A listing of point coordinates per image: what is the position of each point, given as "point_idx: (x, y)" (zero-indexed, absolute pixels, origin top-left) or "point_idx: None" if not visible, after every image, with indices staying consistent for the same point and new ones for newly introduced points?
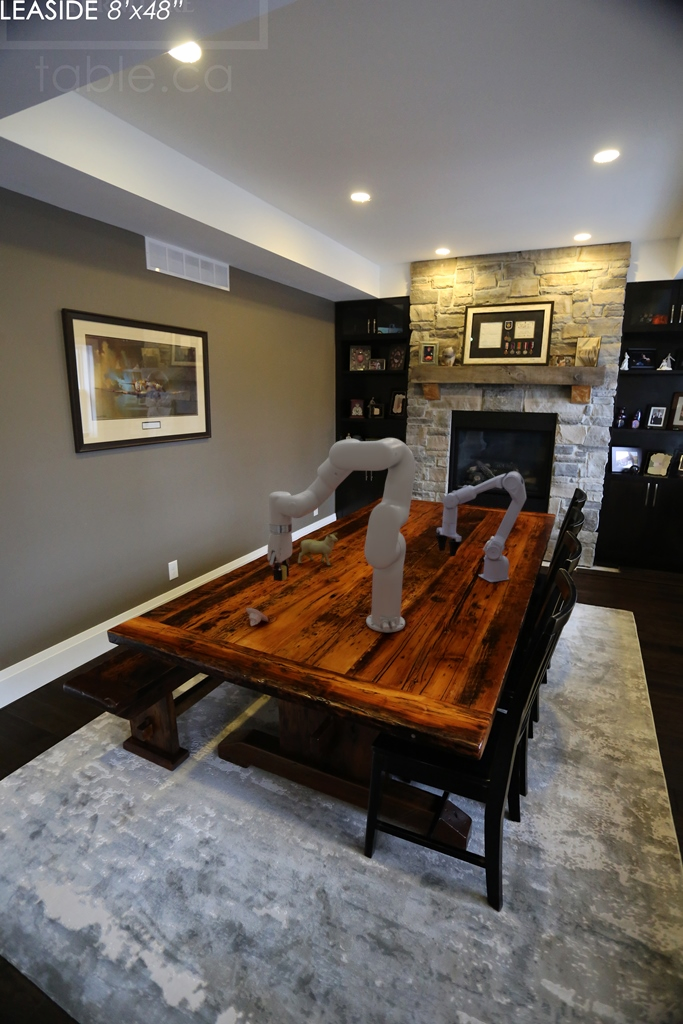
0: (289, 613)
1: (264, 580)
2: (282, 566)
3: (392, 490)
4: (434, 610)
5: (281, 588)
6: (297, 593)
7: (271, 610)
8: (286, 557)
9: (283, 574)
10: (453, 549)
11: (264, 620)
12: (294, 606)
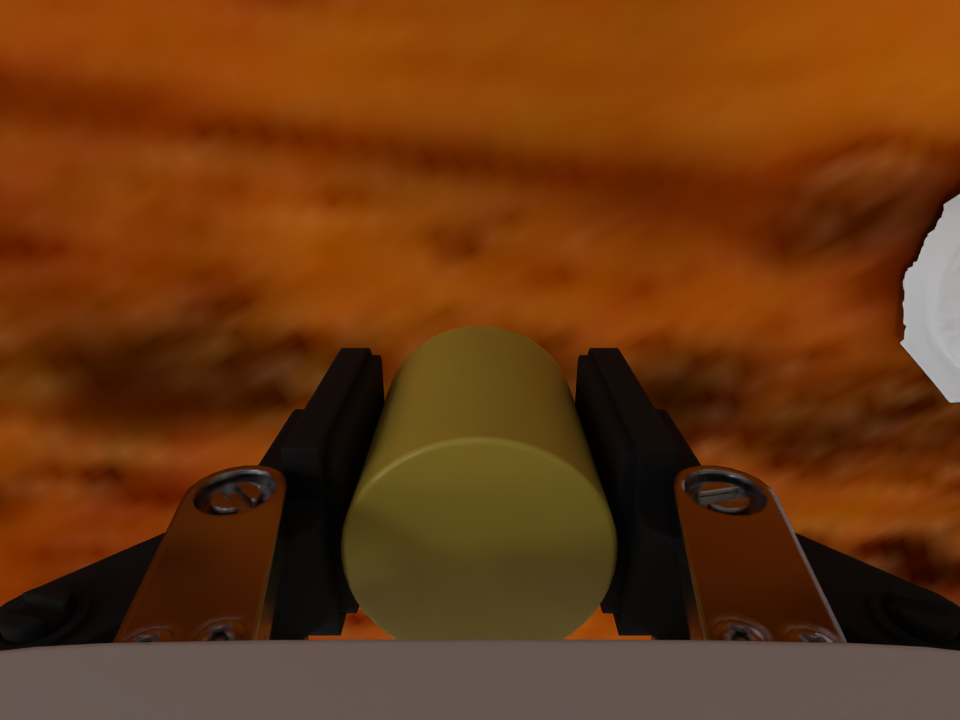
0: (685, 83)
1: None
2: (439, 545)
3: None
4: None
5: (184, 453)
6: (190, 257)
7: (675, 295)
8: (465, 692)
9: (547, 390)
10: None
11: (948, 230)
12: (501, 121)
